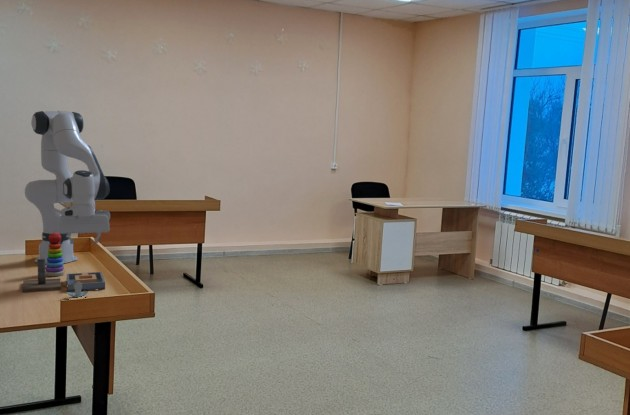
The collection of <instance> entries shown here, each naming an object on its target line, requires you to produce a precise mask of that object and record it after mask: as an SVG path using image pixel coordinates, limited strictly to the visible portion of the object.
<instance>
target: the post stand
mask: <svg viewBox="0 0 630 415" xmlns="http://www.w3.org/2000/svg"><path fill="white" fill-rule="evenodd" d="M45 267H46V264H45V259H38V262H37V279H28V280H27V279H26V280H23V282H22V288H21V291H22V293H32V292H34V293H35V292H48V291H49V292H50V291H61V290H62V284H61V283H62V282H61V278H60V277H59V278H46V277H47V275H45V271H46V270H45Z"/></svg>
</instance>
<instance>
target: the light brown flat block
mask: <svg viewBox="0 0 630 415" xmlns="http://www.w3.org/2000/svg"><path fill="white" fill-rule="evenodd" d="M81 273H82V275H75V283H76V282H80V283H92V282H97V278H96V275H95V274H91V275H88V273H89V272H87V271H85V272H81Z"/></svg>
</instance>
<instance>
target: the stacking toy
mask: <svg viewBox="0 0 630 415" xmlns="http://www.w3.org/2000/svg"><path fill="white" fill-rule="evenodd" d="M49 241H50V242H51V243H50V244H49V249H48V252H49V253H48V258H47V261H48V262H47V263H46V264H45V276H46V277H60V276H63V275H65V273H66V272H65V270H64V269H65V266H64V265H65V263H63V261H62V260H63V258H62V253H61V251H62V249H61V248H60V247H61V244H60V243H59V242H60V241H61V235H60V234H59V233H57V232H54V233H51V234H50V235H49Z"/></svg>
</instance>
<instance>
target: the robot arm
mask: <svg viewBox="0 0 630 415" xmlns="http://www.w3.org/2000/svg"><path fill="white" fill-rule="evenodd" d="M31 127H32V130H33V132H34V133H35V134H38V135H41V139H40V140H41V141H40V156H41V157H40V160H41V161H40V162H41V163H40V164H41V167H42V168H43V169H44V170H45V171H47V172H49V173H51V174H54V175H55V179H38V180H32V181H29V182H27V184H26V186H25V188H24V195H25V198H26V199H27V201H28V202H30V203H31V204H33V205H34V206H35V207H36V208H37V209H38V211H39V213H40V215H41V218H42V232H41V233H42V234H41V238H42V241H41V242H40V243H39V245H38V256H37V257H36V258H35V259H34V263H38V259H45V265H46V263H47V262H48V261H47V258H48V253H49V252H48V249H49V244H50V243H51V242H50V241H49V235H50V234H51V233H54V232H57V233H59V234H60V235H61V241H60V242H59V243H60V244H61V247H60V248H61V249H62V251H61V253H62V258H63V260H62V261H63V263H64V264H66V263H71V262H75V261H76V262H77V261H78V260H79V259H78V257H77V256H75V255H74V244H75V240H74V238H72V237H71V236H72V234H88V233H89V234H91V233H93V234H95V233H96V234H97V236H96V237H95V238H94V239H93V242H94V244H98V243H99V240H100V238H101V236H102V234H101V233H109V232H110V230H111V228H110V220H111V212H110V211H108V210H106V209H102V210H99V209H96V202H95V200H97V201H98V200H99V201H100V200H101V201H103V200H104V199H105V198H106V197H107V196H108V195H109V194H110V191H111V190H110V189H111V188H110V183H109V180H108V178H107V177H106V176H105V175H104V173H103V170H102V168H101V164H100V163H99V161H98V159H97V156H96V154H95V152H94V150H93V149H92V147H91V146H90V145H89V144H87V143H86V142H85V141H84V139H82V137H81V133H83V130H84V119H83V115H81V114H80V113H78V112H75V111H63V110H57V111H55V110H52V111H51V110H50V111H43V110H41V111H39V110H38V111H36V112H35V113H33V115H32V117H31ZM68 158H72V159H75V160H78V161H80V162H82V163H84V164H85V165H86V166H87V169H88V170H84V169H83V170H76V171H74V172H73V174H72V173H71V171H70V169H69V165H68ZM62 203H63V204H64V203H71V204H72V205H71V206H68V207H63V208H62V209H61V210H60V209H57V208H56V207H55V204H62Z"/></svg>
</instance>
